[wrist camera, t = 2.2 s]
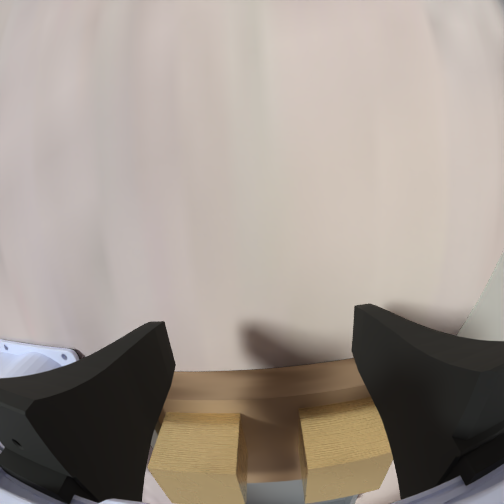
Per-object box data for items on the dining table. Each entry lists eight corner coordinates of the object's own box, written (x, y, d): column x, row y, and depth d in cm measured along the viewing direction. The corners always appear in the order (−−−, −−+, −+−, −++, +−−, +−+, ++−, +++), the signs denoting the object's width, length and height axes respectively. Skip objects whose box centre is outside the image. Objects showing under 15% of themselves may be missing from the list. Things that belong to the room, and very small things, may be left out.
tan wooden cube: (298, 450, 14) (304, 503, 10) (298, 408, 13) (307, 469, 9) (362, 439, 14) (378, 488, 10) (372, 396, 13) (396, 450, 9)
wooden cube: (184, 453, 14) (172, 502, 11) (166, 411, 13) (147, 467, 10) (248, 454, 14) (246, 507, 10) (240, 412, 13) (235, 474, 9)
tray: (209, 506, 21) (208, 521, 19) (185, 459, 18) (180, 478, 16) (347, 496, 20) (351, 511, 18) (364, 446, 18) (370, 464, 16)
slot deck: (183, 456, 18) (176, 488, 15) (149, 371, 16) (131, 406, 12) (365, 442, 17) (376, 474, 14) (384, 352, 15) (406, 385, 12)
